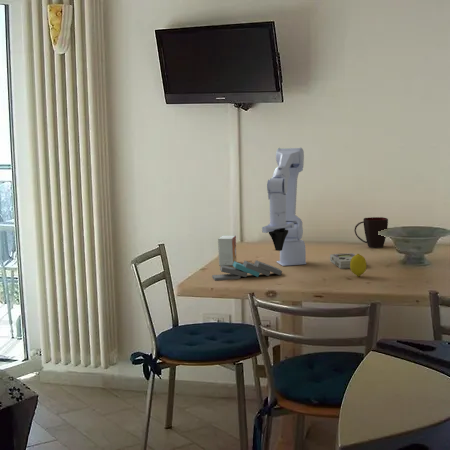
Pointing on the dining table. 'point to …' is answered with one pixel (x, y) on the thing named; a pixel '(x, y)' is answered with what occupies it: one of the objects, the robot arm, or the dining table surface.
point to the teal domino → (245, 269)
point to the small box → (227, 250)
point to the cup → (374, 231)
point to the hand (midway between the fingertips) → (278, 250)
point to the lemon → (358, 265)
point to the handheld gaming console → (341, 260)
